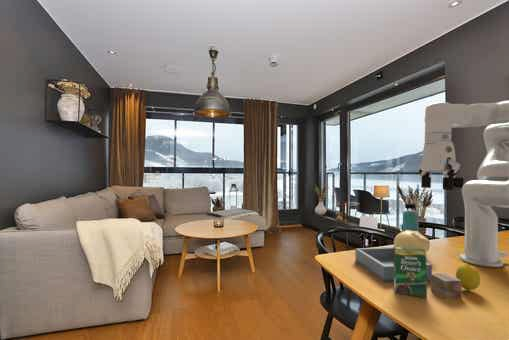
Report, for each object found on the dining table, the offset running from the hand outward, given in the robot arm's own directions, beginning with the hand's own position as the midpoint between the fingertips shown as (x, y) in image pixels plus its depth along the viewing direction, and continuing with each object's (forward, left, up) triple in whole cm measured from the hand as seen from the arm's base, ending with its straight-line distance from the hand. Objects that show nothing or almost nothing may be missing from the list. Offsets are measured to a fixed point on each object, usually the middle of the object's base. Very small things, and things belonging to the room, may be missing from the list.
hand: (436, 188), depth 88 cm
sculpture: (-3, -16, -29) cm, 34 cm away
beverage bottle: (-12, -28, -29) cm, 42 cm away
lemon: (+1, +13, -29) cm, 32 cm away
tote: (+14, -4, -29) cm, 33 cm away
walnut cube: (+9, +14, -29) cm, 34 cm away
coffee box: (+19, +13, -29) cm, 37 cm away
